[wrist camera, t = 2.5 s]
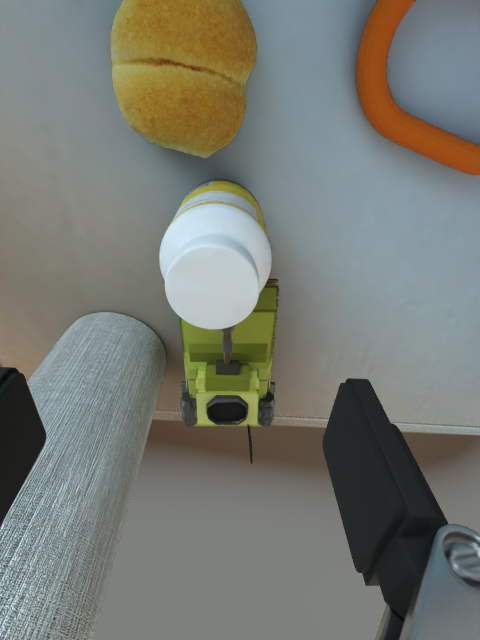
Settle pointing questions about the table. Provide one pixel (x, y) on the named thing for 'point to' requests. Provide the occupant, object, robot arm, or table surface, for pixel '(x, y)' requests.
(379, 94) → the orange rounded loop
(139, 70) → the bread roll
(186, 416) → the toy tank
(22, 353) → the table surface
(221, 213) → the pill bottle
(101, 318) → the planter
